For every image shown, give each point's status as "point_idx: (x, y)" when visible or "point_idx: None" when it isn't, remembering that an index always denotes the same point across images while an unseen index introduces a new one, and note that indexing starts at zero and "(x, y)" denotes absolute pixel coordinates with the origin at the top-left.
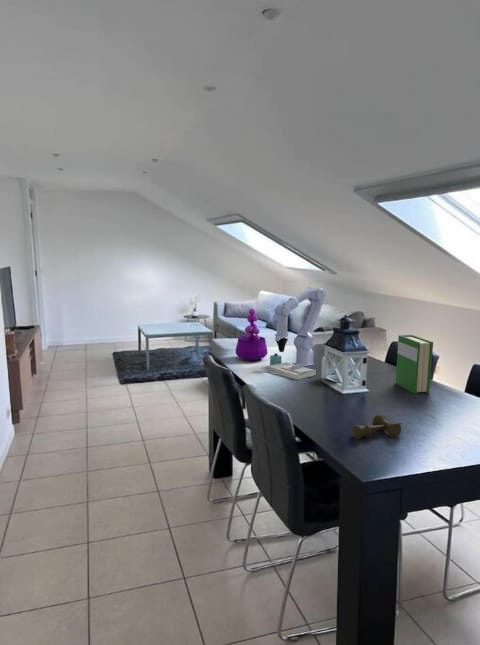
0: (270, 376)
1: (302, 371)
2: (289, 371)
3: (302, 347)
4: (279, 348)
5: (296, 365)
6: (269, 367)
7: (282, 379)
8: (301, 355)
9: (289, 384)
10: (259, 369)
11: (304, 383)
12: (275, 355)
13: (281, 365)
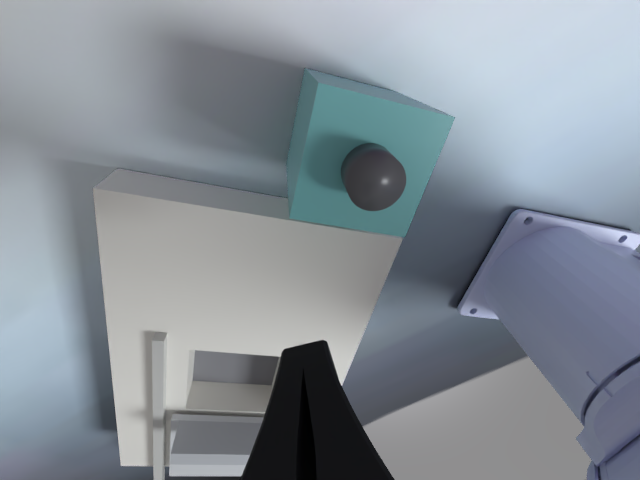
0: (9, 307)
1: (194, 470)
2: (144, 412)
3: (631, 447)
4: (277, 411)
5: (202, 464)
6: (100, 224)
7: (51, 391)
8: (539, 361)
9: (19, 455)
10: (68, 61)
11: (119, 475)
12: (342, 185)
13: (252, 280)
